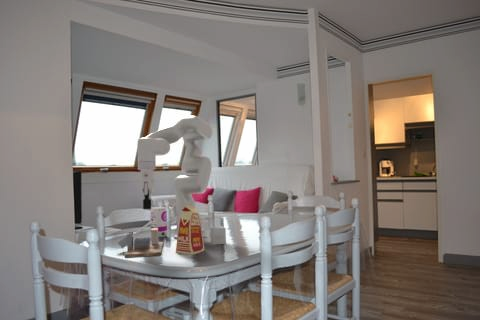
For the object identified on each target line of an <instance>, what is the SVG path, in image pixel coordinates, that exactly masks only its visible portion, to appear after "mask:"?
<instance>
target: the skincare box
mask: <svg viewBox="0 0 480 320" xmlns="http://www.w3.org/2000/svg"><path fill="white" fill-rule="evenodd" d="M226 231H227V230H226V227H224V226H222V225H220V226H210V227H209V235H210V236H209V237H210V244H212V245H213V246H216V245H217V246H219V245H226V244H227V236H226V235H227V234H226V233H227V232H226Z"/></svg>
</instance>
